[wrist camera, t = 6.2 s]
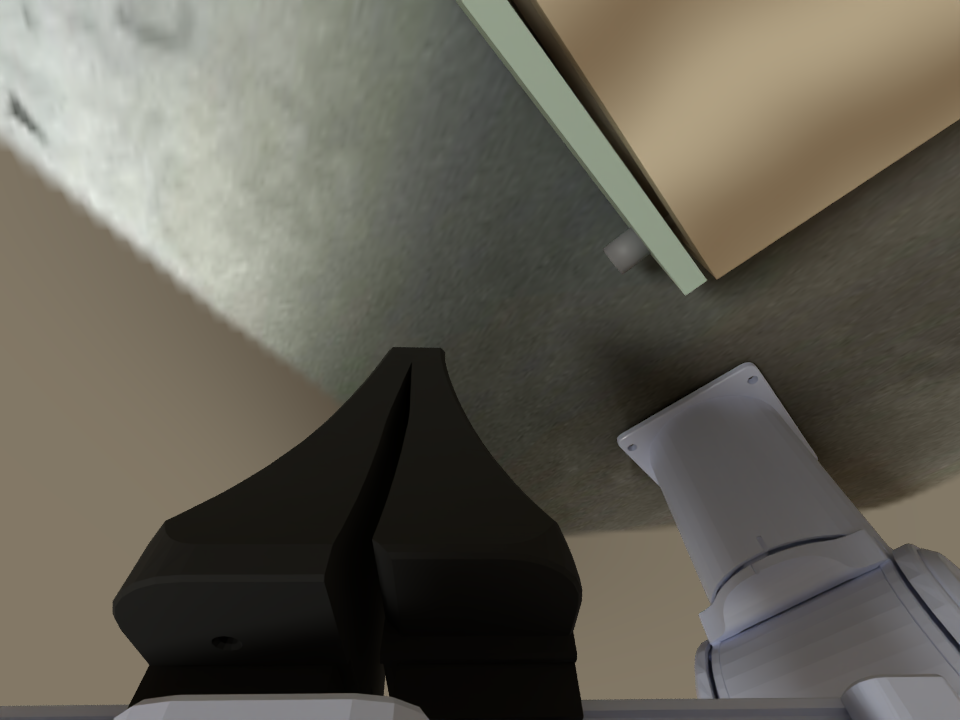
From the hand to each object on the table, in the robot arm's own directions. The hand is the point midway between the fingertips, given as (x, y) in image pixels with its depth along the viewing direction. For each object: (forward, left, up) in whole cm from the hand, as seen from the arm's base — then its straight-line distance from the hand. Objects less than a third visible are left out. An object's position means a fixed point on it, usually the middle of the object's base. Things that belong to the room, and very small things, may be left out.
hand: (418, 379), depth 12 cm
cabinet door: (+2, -6, -9) cm, 11 cm away
